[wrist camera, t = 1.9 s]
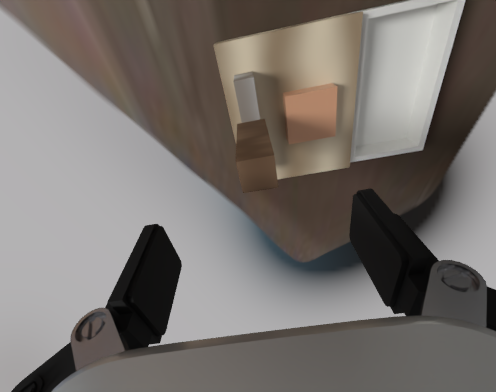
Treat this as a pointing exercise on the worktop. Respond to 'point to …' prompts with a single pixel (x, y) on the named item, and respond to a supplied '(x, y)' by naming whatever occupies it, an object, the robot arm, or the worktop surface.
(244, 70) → the board
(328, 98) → the block
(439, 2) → the box
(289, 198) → the worktop surface
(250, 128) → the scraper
